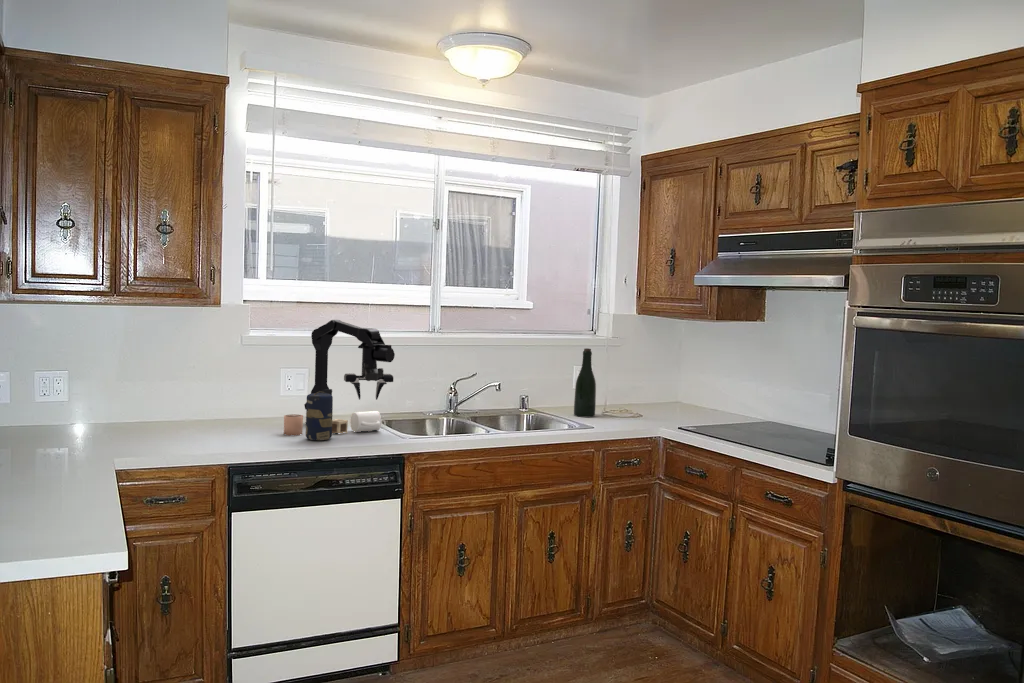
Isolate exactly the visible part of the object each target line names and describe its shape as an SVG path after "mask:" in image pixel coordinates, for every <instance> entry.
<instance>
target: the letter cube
mask: <svg viewBox="0 0 1024 683" xmlns="http://www.w3.org/2000/svg"><path fill="white" fill-rule="evenodd" d="M348 422H349V421H348V420H346V419H341V418H336V419H332V433H343V432H347V433H348V426H349V425H348V424H349V423H348Z"/></svg>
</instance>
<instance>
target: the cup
mask: <svg viewBox="0 0 1024 683" xmlns="http://www.w3.org/2000/svg"><path fill="white" fill-rule="evenodd" d="M303 430H304V415H303V414H293V413H291V414H284V415H283V435H284V434H286V435H285V436H291V435H294V436H301V435H300V434H302V435H303V432H304V431H303Z"/></svg>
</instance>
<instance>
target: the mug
mask: <svg viewBox="0 0 1024 683" xmlns="http://www.w3.org/2000/svg"><path fill="white" fill-rule="evenodd" d="M349 420H350V422H349V423H350V429H351V431H352V430H353V431H355V432H354V433H362V432H361V431H368V432H373V431H372V430H378V431H380V429H381V428H382V427H381V426H382V417H381V413H380V412H379V411H378V410H372V411H371V410H369V411H354V412H352V413H351V415H350V419H349Z"/></svg>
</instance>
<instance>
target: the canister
mask: <svg viewBox="0 0 1024 683" xmlns="http://www.w3.org/2000/svg"><path fill="white" fill-rule="evenodd" d="M333 400H334V397H333V394H332V395H331V394H327V393H324V392H321V391H319V392H317V393H312V394H311V393H308V394H307V395H306V402H307V405H306V409H305V410H306V411H305V412H306V413H305V415H306V416H305V422H306V424H305V438H306V439H308V440H309V441H310V440H311V441H327V440H330V439H332V437H333V436H332V435H333V434H332V420H333V415H334V414H333V412H334V411H333Z"/></svg>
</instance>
